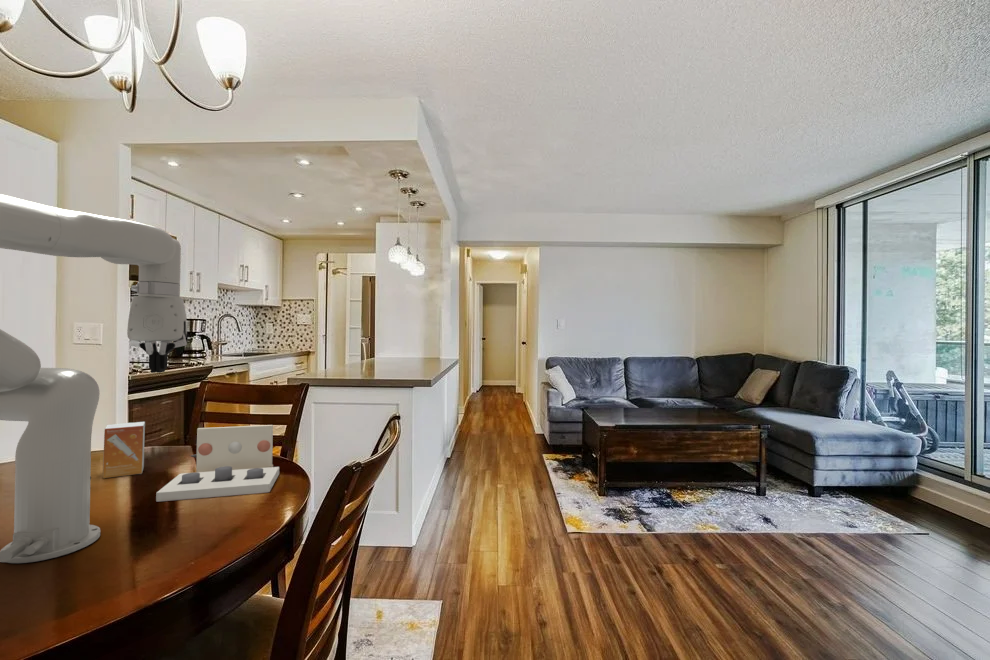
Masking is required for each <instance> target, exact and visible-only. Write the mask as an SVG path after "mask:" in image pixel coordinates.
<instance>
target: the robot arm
mask: <svg viewBox="0 0 990 660" xmlns="http://www.w3.org/2000/svg"><path fill="white" fill-rule="evenodd" d="M181 247H182V246H181V243H180V242H179V241H178V240H177V239H175V238H173V237H172V236H171V235H170V233H169V232H167V231H165V230H164V229H162V228H160V227H158V226H153V225H149V224H146V223H141V222H137V221H134V220H128V219H124V218H116V217H110V216H106V215H105V216H104V215H100V214H99V215H98V214H93V213H89V212H84V211H77V210H72V209H71V210H70V209H66V208H60V207H56V206H52V205H47V204H43V203H39V202H35V201H31V200H26V199H22V198H20V197H19V198H18V197H15V196H12V195H7V194H3V193H0V249H4V250H12V251H19V252H27V253H34V254H39V255H46V256H53V257H67V258H101V259H102V260H104V261H106V262H109V263H111V264H115V265H135V266H138V282H137V284H135V285H131V287H130V290H131V291H132V292H136V293H137V295H138V296H135V295H134V296H133V298H132V300H131V304H130V308H129V315H128V321H127V329H126V330H127V331H126V332H127V338H128V339H129V342H128V344H129V346H133V347H137V348H140V349H142V350H143V351H145V353H146V355H148V369H150V373H151V374H155V373H158V374H159V373H165V371H166V370H167V369H168V355H170V353H172V351H173V350H174V349H176V348H180V347H184V346H187V345H188V343H187V339H186V338H187V337H188V336H187V335H188V321H187V312H186V308H185V302H184V298H183V297H181V260H182V259H181V255H182V253H181V252H182V251H181V250H182V249H181ZM158 342H160V344H159V345H160V346H159V349H158V344H157V343H158ZM41 366H42V363H41V359H40V357H39V355H38V354H37V353H36V351H35V350H34V349H33V348H32V347H30V346H29V345H28V344H26V343H24V342H23V341H21V340H20V339H18V338H16V337H15V336H13V335H12V334H9V333H8V332H6V331H4V330H3V329H1V328H0V421H6V422H7V421H8V422H27V425H26V427H25V429H24V431H23V432H22V434H21V436H20V438H19V440H18V442H17V446H16V449H15V453H14V455H15V458H14V462H15V463H14V464H15V465H14V467H15V470H14V471H15V472H14V473H15V475H14V513H13V514H14V515H13V516H14V517H13V520H14V521H13V534H12V541H10V542H9V543H8V544H6V545H5V546H3V547H2V548H1V549H0V563H7V564H27V563H28V564H29V563H35V562H40V561H46V560H50V559H55V558H59V557H62V556H65V555H69V554H71V553H75V552H76V551H77V552H78V551H79V550H81V549H84V548H85V547H88V546H89V545H91V544H93V543H94V542H96V541H97V540H98V539H99V538H100V536H101V527H99V526H98V525H94V524H90V523H91V522H90V519H91V518H90V513H91V512H90V511H91V481H90V476H92V475H91V473H92V472H91V470H92V469H91V468H92V467H91V466H92V465H91V464H92V459H91V458H92V453H91V452H92V433H93V432H92V431H93V425H94V418H95V415H96V411H97V408H98V405H99V401H100V396H101V395H100V387H99V384H98V382H97V381H96V380H95V379H94V377H93V376H91V375H90V374H88V373H86V372H84V371H81V370H79V369H74V368H66V367H41Z"/></svg>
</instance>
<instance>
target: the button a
mask: <svg viewBox="0 0 990 660" xmlns="http://www.w3.org/2000/svg"><path fill="white" fill-rule="evenodd" d="M187 473H188V474H184V475H182V484H194V483H199V482H200V473H195V472H187Z"/></svg>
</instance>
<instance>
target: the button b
mask: <svg viewBox="0 0 990 660" xmlns="http://www.w3.org/2000/svg"><path fill="white" fill-rule="evenodd" d="M231 480H232V467H231V466H224V467H219V468H216V469H215V482H221V481H231Z"/></svg>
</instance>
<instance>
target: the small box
mask: <svg viewBox="0 0 990 660" xmlns="http://www.w3.org/2000/svg"><path fill="white" fill-rule="evenodd" d="M145 430H146V421H136V422H123V423H113V424H106V427H105V428H104V431H103V432H104V436H103V458H102V459H103V460H102V462H103V464H102V466H103V467H102V478H103V479H108V478H116V477H124V476H133V475H134V476H135V475H142V474H143V471H144V468H145V437H146V436H145V435H146V433H145Z"/></svg>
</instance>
